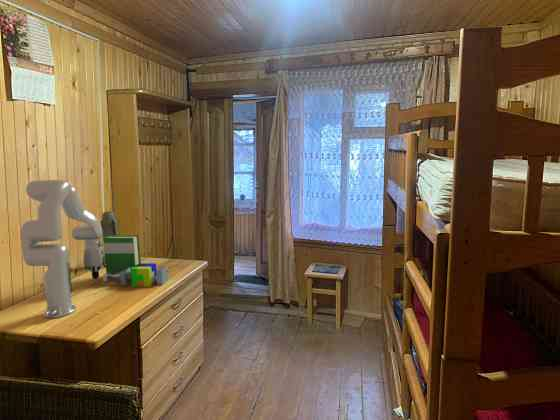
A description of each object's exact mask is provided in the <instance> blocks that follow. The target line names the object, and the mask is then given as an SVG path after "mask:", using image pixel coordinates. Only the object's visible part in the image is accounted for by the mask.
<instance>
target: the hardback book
mask: <svg viewBox="0 0 560 420" xmlns="http://www.w3.org/2000/svg"><path fill="white" fill-rule="evenodd" d="M102 241H103V252H104V256H105V264H104V265H105V271H106V272H105V274H106V273H107V272H111V275H113V272H117V271H121V270H123V269H124V268H125V267H130V269H131V268H132V267H134V266H135V265H137V264H139V263H142V259H141V258H142V257H141V247H140V246H141V245H140V235H138V234H128V235H127V234H126V235H125V234H119V235H110V236H107V237H104V238H103V237H102ZM110 279H111V280H114V278H110ZM110 279H109V280H110Z"/></svg>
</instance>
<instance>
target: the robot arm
mask: <svg viewBox="0 0 560 420" xmlns="http://www.w3.org/2000/svg"><path fill="white" fill-rule="evenodd" d="M25 189H26V190H25V191H26V194H27V196H28V197H29V198H30V199H31V200H33V201H36V202H37V201H38V202H40V204H39V205H38V209H37V214H38V215H37V217H38V219H37V220H35V219H34V220H27V221H24V223H23V224H22V225H21V228H20V242H21V249H22V250H21V251H22V258H23V261H24V263H25V264H26V265H27V266H30V267H47V270H46V271H45V273H44V275H43V282H44V289H45V297H46V305H47V306H46V310H45V311H44V312H43V314H42V316H43V317H44V318H45V317H46V318H50V319H51V318H52V319H55V318H61V317H65V316H68V315H71V314H73V313H75V311H76V310H77V307H76V305H74V304H73V303H72V296H71V293H72V292H71V293H70V283H69V274H68V262H69V255H70V253H69V252H70V250H69V249H68V247H67V246H66V245H65V244H60V243H45V244H43V243H42V242H56V241H59V240H61V238H62V237H63V223H62V222H63V221H62V214H61V213H62V212H61V209H62V210H63V212H64V213H65V216H66V217H68V218H69V219H70V220H71V219H72V220H75V221H78V222H81V223H84V224H82V225H76V226H74V227H73V228H72V230H71V237H72V238H73V239H74V240H76V241H84V242H83V243H84V248H83V253H82V254H83V266H84V269H86V270H89V271H90V272H91V277H92V279H93V280H97V279H99V277H100V272H99V271H100V270H101V269H103V268H106V264H105V253H104V243H101V238H102V237H103V234H102V226H101V221H99V220H100V219H98V217H97V216H96V215H95V214H93V213H92V212H90V211H89V210H88V209H86V208H84V206H83V203H82V201H81V198H80V196H79V194H78V192H77V190H76V188H75V187H74V186H73V185H71V184H70V183H69V182H68V181H66V180H62V179H61V180H60V179H49V180H48V179H47V180H43V179H42V180H33V181H32V180H31V181H29V182H28V184H27V185H26V187H25ZM61 207H62V208H61ZM39 243H41V244H39ZM48 266H49V268H48Z"/></svg>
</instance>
